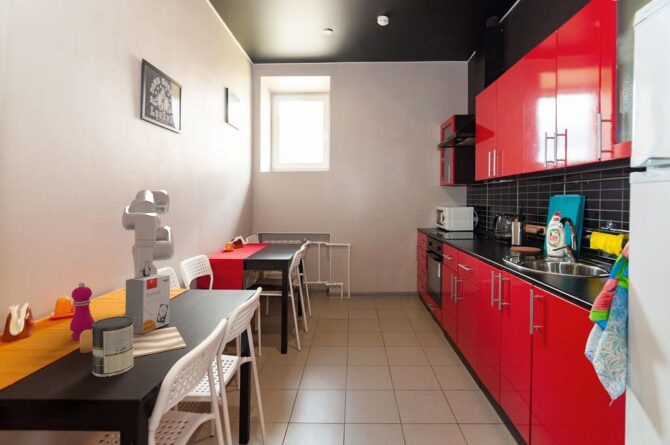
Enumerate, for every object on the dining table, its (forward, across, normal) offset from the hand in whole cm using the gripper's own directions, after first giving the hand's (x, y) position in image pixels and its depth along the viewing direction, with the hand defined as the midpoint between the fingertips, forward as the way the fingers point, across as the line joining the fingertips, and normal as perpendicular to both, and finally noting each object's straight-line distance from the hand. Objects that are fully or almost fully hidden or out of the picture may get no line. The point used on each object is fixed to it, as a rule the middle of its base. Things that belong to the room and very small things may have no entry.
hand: (145, 288), depth 144 cm
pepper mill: (+14, +7, -21) cm, 26 cm away
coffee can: (+15, +42, -12) cm, 46 cm away
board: (+14, +25, 0) cm, 29 cm away
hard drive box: (+14, +10, 0) cm, 17 cm away
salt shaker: (+14, +22, -19) cm, 32 cm away
